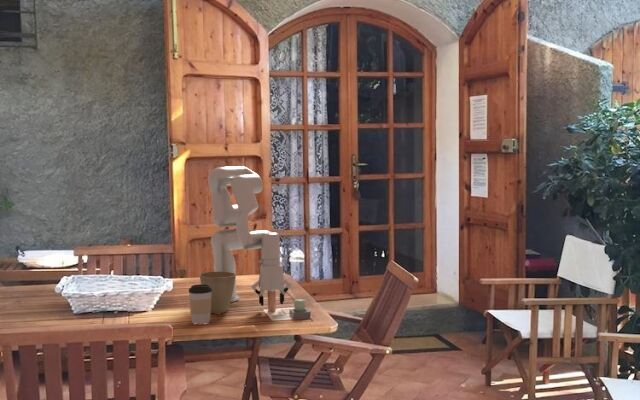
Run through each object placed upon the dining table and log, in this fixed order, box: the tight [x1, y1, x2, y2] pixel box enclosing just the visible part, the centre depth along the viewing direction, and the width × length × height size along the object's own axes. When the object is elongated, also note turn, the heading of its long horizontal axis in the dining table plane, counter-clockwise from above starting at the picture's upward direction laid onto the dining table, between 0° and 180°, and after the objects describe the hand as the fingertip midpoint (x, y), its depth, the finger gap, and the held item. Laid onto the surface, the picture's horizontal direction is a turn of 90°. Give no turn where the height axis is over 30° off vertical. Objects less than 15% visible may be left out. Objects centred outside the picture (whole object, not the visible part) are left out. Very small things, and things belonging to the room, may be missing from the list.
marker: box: [267, 290, 277, 312], centre depth 308 cm, size 3×3×11 cm
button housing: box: [289, 307, 312, 320], centre depth 299 cm, size 7×7×2 cm
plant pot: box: [199, 271, 237, 315], centre depth 310 cm, size 15×15×16 cm
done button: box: [293, 298, 306, 312], centre depth 299 cm, size 4×4×5 cm
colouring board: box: [263, 306, 313, 322], centre depth 304 cm, size 16×20×1 cm
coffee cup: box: [188, 283, 212, 325], centre depth 293 cm, size 9×9×15 cm
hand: (271, 304), depth 308 cm, fingers open, 7 cm apart
